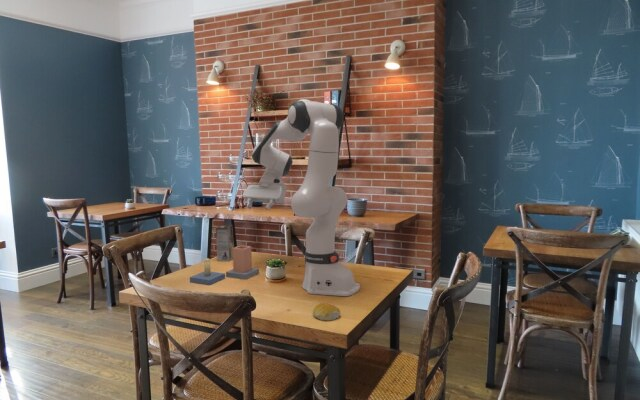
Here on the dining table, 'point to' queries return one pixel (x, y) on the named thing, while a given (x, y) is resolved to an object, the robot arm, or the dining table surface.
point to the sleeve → (242, 259)
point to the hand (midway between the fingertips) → (257, 208)
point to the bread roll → (326, 311)
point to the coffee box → (224, 242)
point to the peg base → (207, 275)
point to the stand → (242, 275)
